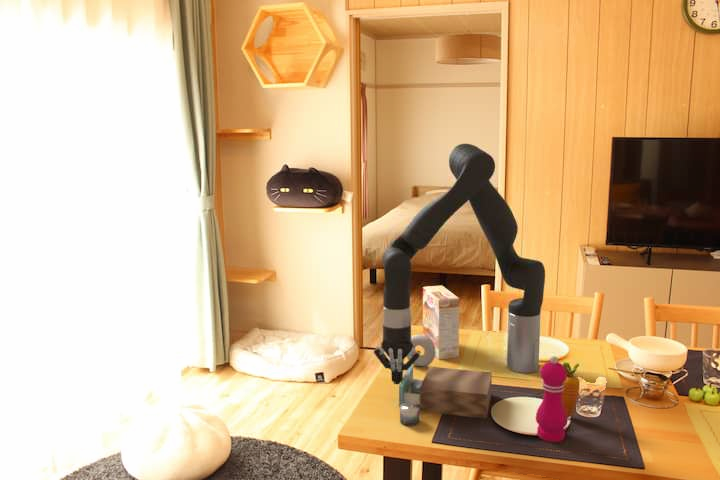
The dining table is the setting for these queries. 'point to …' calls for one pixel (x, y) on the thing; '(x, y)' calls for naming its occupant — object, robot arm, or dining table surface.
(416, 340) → the donut
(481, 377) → the housing
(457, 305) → the coffeecake box
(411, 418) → the shiny metal cylinder
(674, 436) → the dining table surface
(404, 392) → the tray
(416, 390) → the grey domed disc
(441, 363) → the dining table surface
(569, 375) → the carrot
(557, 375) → the pepper mill
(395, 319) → the robot arm
